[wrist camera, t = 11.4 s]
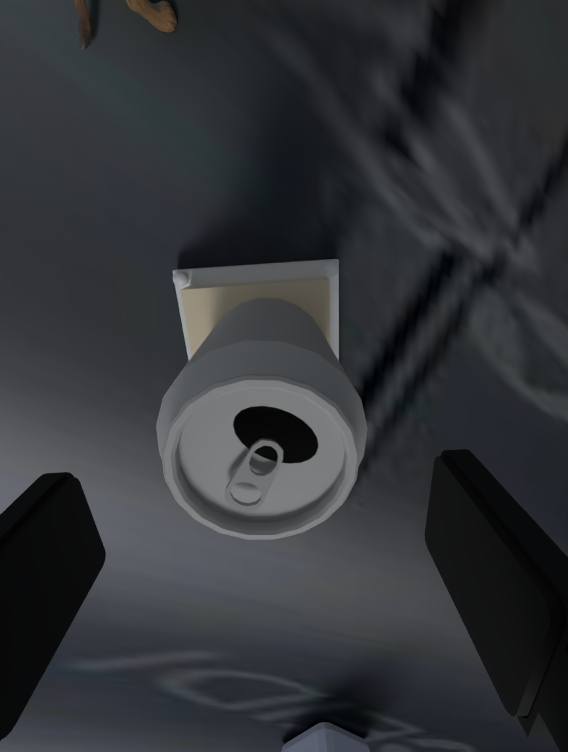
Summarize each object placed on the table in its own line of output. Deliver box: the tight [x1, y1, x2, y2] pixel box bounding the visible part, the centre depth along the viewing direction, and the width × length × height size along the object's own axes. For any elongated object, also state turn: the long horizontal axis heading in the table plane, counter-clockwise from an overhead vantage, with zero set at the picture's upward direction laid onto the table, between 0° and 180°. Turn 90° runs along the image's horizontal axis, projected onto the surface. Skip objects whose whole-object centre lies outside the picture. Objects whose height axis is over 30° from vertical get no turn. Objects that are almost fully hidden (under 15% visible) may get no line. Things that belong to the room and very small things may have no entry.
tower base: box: [173, 259, 339, 361], centre depth 23 cm, size 11×11×4 cm
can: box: [156, 298, 368, 539], centre depth 16 cm, size 8×8×12 cm
